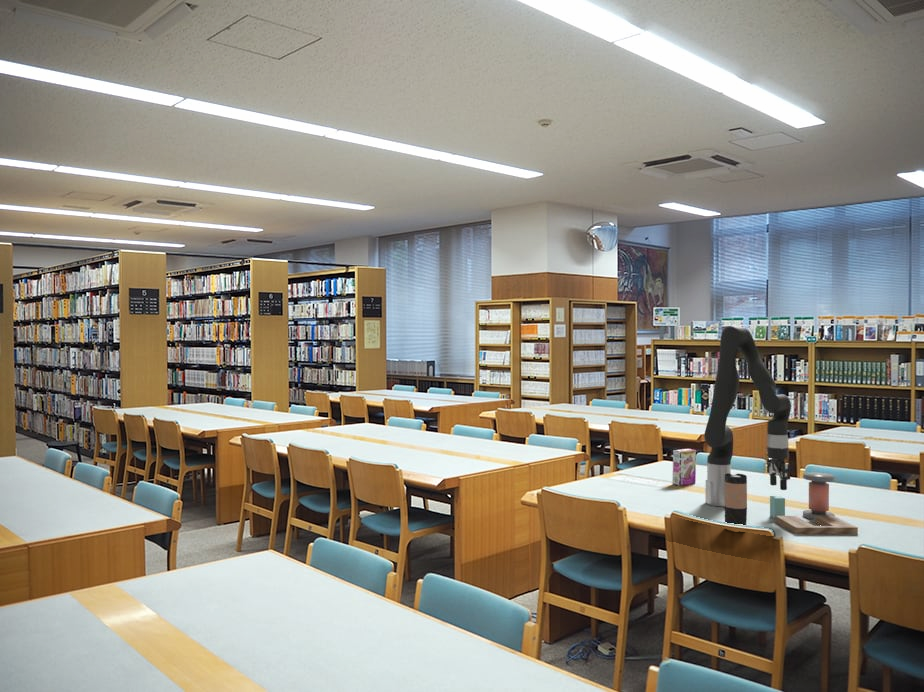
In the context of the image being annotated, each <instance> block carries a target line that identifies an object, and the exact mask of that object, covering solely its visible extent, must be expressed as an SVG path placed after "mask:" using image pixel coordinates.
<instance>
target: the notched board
mask: <svg viewBox="0 0 924 692" xmlns="http://www.w3.org/2000/svg"><path fill="white" fill-rule="evenodd" d="M774 520H775V522H774V523H776V524H777V523H778V524H777V525H779V526H781V527H782V528H784V529H786V530H787V531H789V532H791V533H792V532H793V533H792V534H794V535H796V534H858V533H859V531H858V529H859V528H858V526H856V525H853V524H851V523H849V522H847V521H845V520H844V519H841V518H840V517H837V516H836V515H835V516H814V520H813V523H814V522H815V523H814V524H816V523H817V524H816V525H814V524H811V523H810V522H808V521H806V520H804V519H803V518H800V517H798V516H796V515H785V516H775V519H774ZM818 524H819V525H818ZM820 525H821V526H820Z"/></svg>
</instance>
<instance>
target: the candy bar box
mask: <svg viewBox="0 0 924 692" xmlns="http://www.w3.org/2000/svg"><path fill="white" fill-rule="evenodd" d="M696 463H697V450H696V449H692V448H684V449H683V448H682V449H674V450H673V451H672V483H671V485H673V486H674V485H675V486H678V487H682V486H689V485H693V484H696V473H697V469H696V467H697V465H696Z"/></svg>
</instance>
